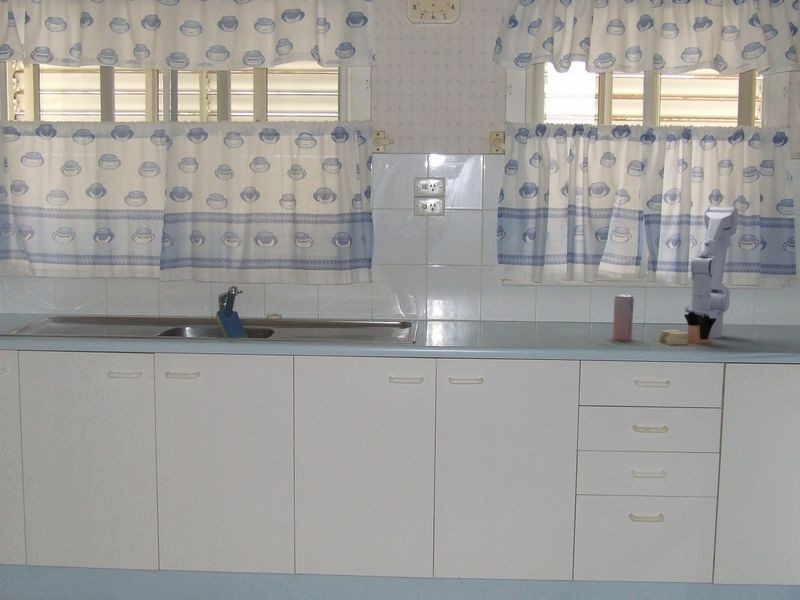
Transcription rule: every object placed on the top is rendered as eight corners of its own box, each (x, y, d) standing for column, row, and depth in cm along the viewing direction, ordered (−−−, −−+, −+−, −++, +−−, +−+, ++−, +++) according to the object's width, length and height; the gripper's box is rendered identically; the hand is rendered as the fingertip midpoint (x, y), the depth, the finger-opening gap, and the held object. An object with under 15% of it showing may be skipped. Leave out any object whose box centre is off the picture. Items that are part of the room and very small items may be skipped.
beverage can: (617, 339, 273) (619, 294, 271) (634, 341, 269) (637, 295, 267) (609, 341, 268) (611, 295, 266) (626, 343, 264) (629, 297, 263)
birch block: (659, 341, 265) (660, 330, 265) (676, 340, 267) (677, 330, 266) (670, 344, 259) (670, 333, 259) (687, 344, 261) (687, 333, 260)
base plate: (653, 342, 267) (653, 340, 267) (703, 341, 271) (703, 338, 271) (670, 348, 257) (670, 345, 257) (721, 346, 262) (721, 344, 261)
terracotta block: (687, 340, 267) (688, 325, 266) (700, 340, 268) (701, 325, 267) (696, 343, 262) (697, 327, 261) (710, 343, 263) (711, 327, 263)
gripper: (677, 292, 269) (675, 334, 271) (703, 298, 255) (701, 341, 257) (696, 292, 271) (694, 333, 273) (723, 297, 257) (721, 341, 259)
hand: (698, 337), depth 265 cm, fingers closed on terracotta block, 5 cm apart
